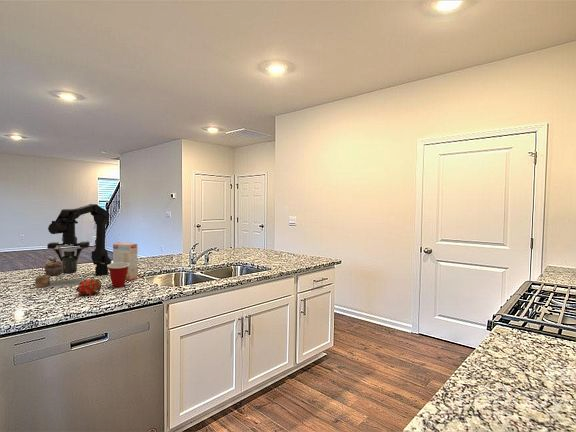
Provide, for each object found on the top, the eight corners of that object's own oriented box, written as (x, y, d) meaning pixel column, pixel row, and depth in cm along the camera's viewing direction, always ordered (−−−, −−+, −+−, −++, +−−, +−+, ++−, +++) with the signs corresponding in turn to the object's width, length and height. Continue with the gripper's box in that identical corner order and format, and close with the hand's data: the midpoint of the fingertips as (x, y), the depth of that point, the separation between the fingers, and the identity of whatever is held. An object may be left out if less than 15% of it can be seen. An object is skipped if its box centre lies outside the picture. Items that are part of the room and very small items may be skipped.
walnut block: (49, 284, 178) (49, 275, 178) (47, 286, 173) (46, 277, 173) (38, 285, 176) (38, 275, 176) (35, 287, 172) (35, 277, 171)
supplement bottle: (59, 273, 181) (58, 251, 181) (71, 270, 188) (70, 249, 187) (67, 274, 179) (67, 252, 178) (79, 272, 185) (79, 250, 185)
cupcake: (66, 274, 207) (66, 258, 206) (48, 277, 199) (48, 260, 198) (59, 272, 212) (59, 256, 211) (41, 275, 204) (41, 258, 203)
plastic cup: (107, 289, 174) (106, 266, 174) (107, 284, 184) (107, 263, 183) (130, 287, 179) (129, 265, 179) (129, 282, 189) (129, 261, 188)
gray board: (84, 281, 191) (84, 278, 191) (79, 287, 178) (79, 284, 178) (42, 283, 184) (42, 281, 184) (34, 290, 171) (33, 287, 171)
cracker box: (138, 278, 199) (137, 243, 198) (129, 280, 194) (129, 244, 193) (121, 276, 205) (121, 242, 204) (112, 278, 200) (112, 243, 198)
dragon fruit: (104, 295, 170) (78, 303, 161) (97, 283, 174) (71, 291, 165) (106, 284, 166) (79, 292, 157) (98, 272, 169) (72, 279, 160)
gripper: (91, 230, 193) (91, 257, 194) (52, 231, 186) (53, 259, 187) (87, 232, 183) (88, 260, 184) (46, 233, 176) (47, 262, 177)
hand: (69, 260), depth 183 cm, fingers closed on supplement bottle, 7 cm apart
